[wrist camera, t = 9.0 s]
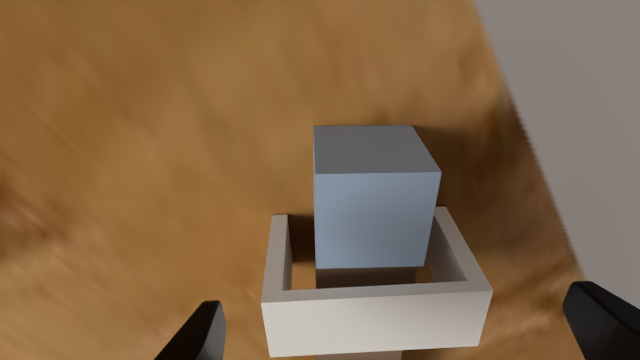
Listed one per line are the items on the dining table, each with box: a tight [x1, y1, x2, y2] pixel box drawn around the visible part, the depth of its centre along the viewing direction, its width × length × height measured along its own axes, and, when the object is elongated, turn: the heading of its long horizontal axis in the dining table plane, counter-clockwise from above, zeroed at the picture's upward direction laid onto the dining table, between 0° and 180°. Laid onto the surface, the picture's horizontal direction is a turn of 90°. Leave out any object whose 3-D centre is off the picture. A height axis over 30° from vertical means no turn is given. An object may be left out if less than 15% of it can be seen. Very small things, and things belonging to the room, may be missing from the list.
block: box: [313, 125, 442, 269], centre depth 15 cm, size 4×4×4 cm
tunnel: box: [261, 206, 493, 357], centre depth 16 cm, size 3×8×5 cm, turn 92°
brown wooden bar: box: [315, 257, 417, 360], centre depth 19 cm, size 14×4×4 cm, turn 0°
